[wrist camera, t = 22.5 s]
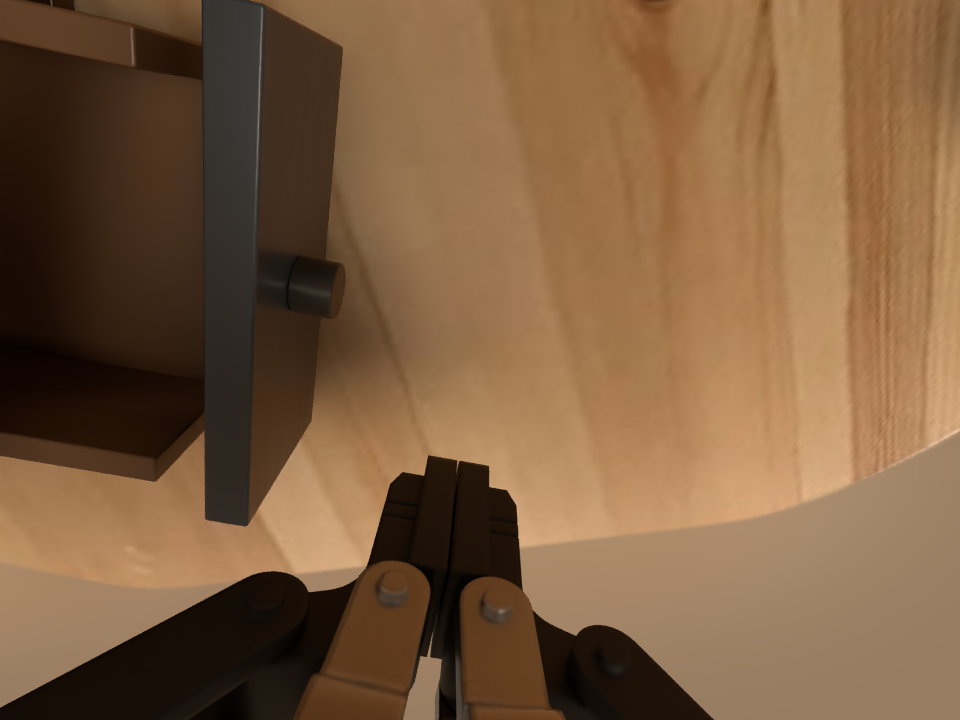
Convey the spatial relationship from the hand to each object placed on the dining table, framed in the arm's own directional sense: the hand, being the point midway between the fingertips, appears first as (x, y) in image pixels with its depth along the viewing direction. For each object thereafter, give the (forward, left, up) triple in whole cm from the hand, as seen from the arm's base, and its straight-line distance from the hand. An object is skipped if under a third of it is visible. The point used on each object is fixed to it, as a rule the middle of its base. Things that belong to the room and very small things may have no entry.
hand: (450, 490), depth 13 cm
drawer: (+8, -8, -7) cm, 14 cm away
